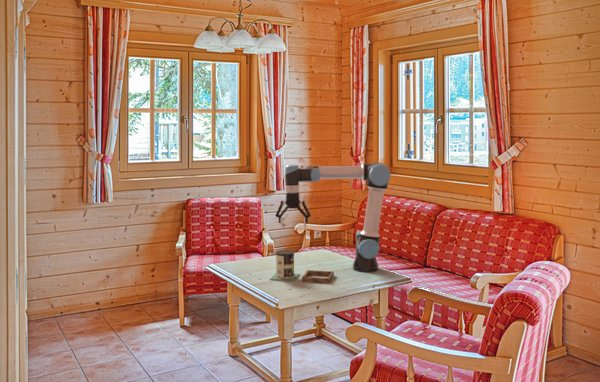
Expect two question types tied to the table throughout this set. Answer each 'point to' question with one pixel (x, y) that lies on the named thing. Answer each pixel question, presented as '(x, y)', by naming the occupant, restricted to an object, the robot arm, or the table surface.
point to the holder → (318, 273)
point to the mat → (284, 279)
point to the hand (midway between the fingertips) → (293, 229)
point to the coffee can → (285, 264)
